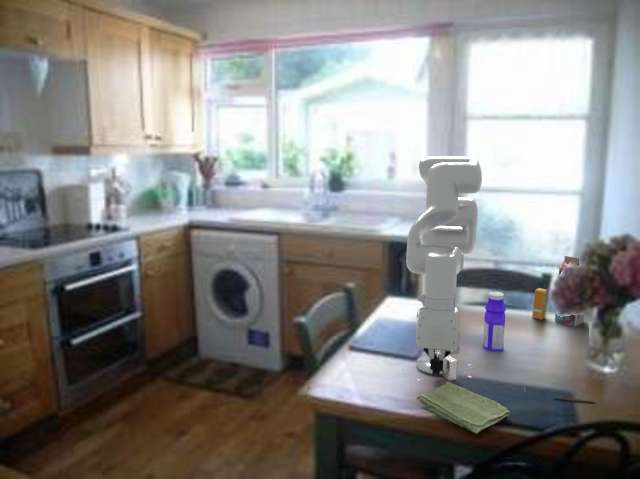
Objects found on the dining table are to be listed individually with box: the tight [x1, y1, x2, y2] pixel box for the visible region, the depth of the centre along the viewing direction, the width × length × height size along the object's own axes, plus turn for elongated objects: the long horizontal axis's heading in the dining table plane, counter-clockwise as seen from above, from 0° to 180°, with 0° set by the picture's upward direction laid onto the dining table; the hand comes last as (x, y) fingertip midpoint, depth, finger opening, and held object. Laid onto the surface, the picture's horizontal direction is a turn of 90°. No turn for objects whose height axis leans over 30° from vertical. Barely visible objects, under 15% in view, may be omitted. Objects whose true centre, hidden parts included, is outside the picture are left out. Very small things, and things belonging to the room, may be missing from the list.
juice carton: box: [554, 255, 585, 327], centre depth 176 cm, size 7×7×22 cm
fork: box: [523, 386, 597, 404], centre depth 127 cm, size 3×16×2 cm, turn 75°
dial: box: [415, 351, 458, 381], centre depth 139 cm, size 13×10×5 cm
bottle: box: [482, 291, 507, 353], centre depth 153 cm, size 7×6×17 cm
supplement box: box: [531, 287, 548, 321], centre depth 182 cm, size 3×3×10 cm
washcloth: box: [416, 382, 511, 435], centre depth 122 cm, size 13×18×3 cm
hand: (436, 372), depth 134 cm, fingers closed
